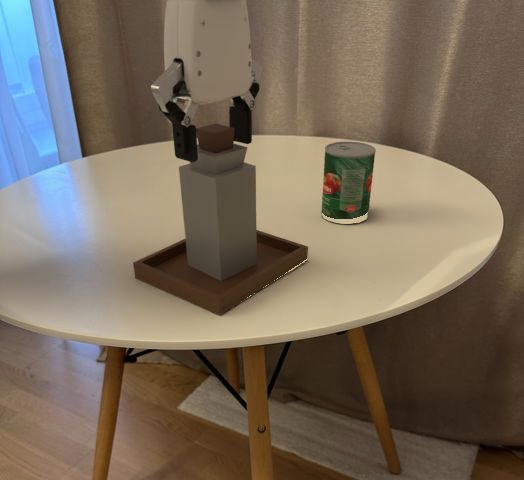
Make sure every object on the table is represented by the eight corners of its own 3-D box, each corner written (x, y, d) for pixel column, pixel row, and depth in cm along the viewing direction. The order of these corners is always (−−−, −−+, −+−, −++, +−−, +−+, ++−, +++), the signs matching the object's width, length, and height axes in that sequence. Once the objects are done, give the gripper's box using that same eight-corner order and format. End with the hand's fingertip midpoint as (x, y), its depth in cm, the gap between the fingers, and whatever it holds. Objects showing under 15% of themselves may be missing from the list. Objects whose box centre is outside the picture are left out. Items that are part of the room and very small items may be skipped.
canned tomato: (378, 218, 91) (386, 150, 84) (341, 228, 87) (347, 158, 81) (347, 203, 96) (352, 138, 90) (311, 213, 93) (314, 146, 86)
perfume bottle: (221, 280, 72) (213, 139, 61) (187, 264, 76) (175, 128, 65) (256, 263, 76) (255, 127, 65) (223, 249, 80) (216, 118, 69)
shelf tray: (219, 315, 66) (219, 299, 65) (135, 277, 74) (132, 262, 73) (307, 261, 78) (308, 246, 77) (226, 233, 86) (225, 219, 85)
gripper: (235, -22, 64) (237, 131, 74) (118, -18, 53) (140, 160, 63) (286, -20, 60) (282, 141, 70) (172, -15, 49) (186, 174, 59)
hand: (214, 150), depth 67 cm, fingers open, 9 cm apart
